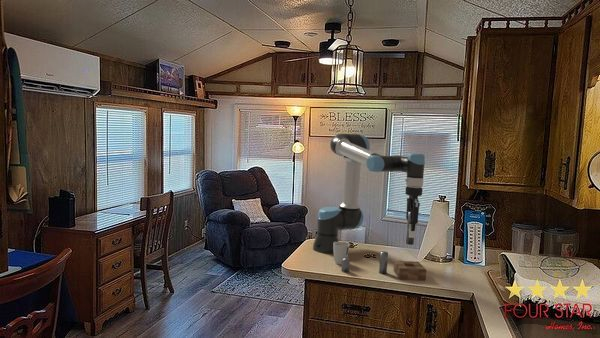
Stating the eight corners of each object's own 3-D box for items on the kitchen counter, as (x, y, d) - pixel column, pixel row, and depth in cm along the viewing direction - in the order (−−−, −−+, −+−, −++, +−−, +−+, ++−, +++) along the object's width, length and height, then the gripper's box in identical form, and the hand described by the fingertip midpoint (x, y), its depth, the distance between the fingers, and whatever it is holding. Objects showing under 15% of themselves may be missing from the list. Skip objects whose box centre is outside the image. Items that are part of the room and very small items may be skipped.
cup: (347, 266, 213) (348, 246, 212) (331, 264, 214) (332, 244, 213) (349, 261, 221) (350, 242, 220) (333, 260, 222) (334, 240, 221)
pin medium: (378, 271, 208) (379, 251, 207) (385, 271, 208) (387, 251, 207) (379, 273, 204) (381, 253, 203) (387, 274, 204) (388, 253, 203)
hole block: (393, 270, 210) (394, 260, 210) (417, 271, 210) (418, 261, 210) (399, 279, 198) (400, 268, 198) (425, 280, 198) (426, 269, 198)
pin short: (341, 269, 207) (341, 257, 207) (348, 270, 207) (349, 257, 207) (341, 272, 204) (342, 259, 203) (349, 272, 204) (350, 260, 203)
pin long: (405, 242, 204) (407, 211, 203) (412, 242, 204) (415, 211, 203) (407, 244, 201) (409, 212, 199) (414, 244, 201) (417, 213, 200)
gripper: (401, 184, 208) (398, 231, 211) (410, 188, 192) (407, 240, 194) (417, 184, 209) (413, 232, 211) (427, 189, 192) (423, 241, 194)
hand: (410, 236), depth 202 cm, fingers closed on pin long, 4 cm apart
